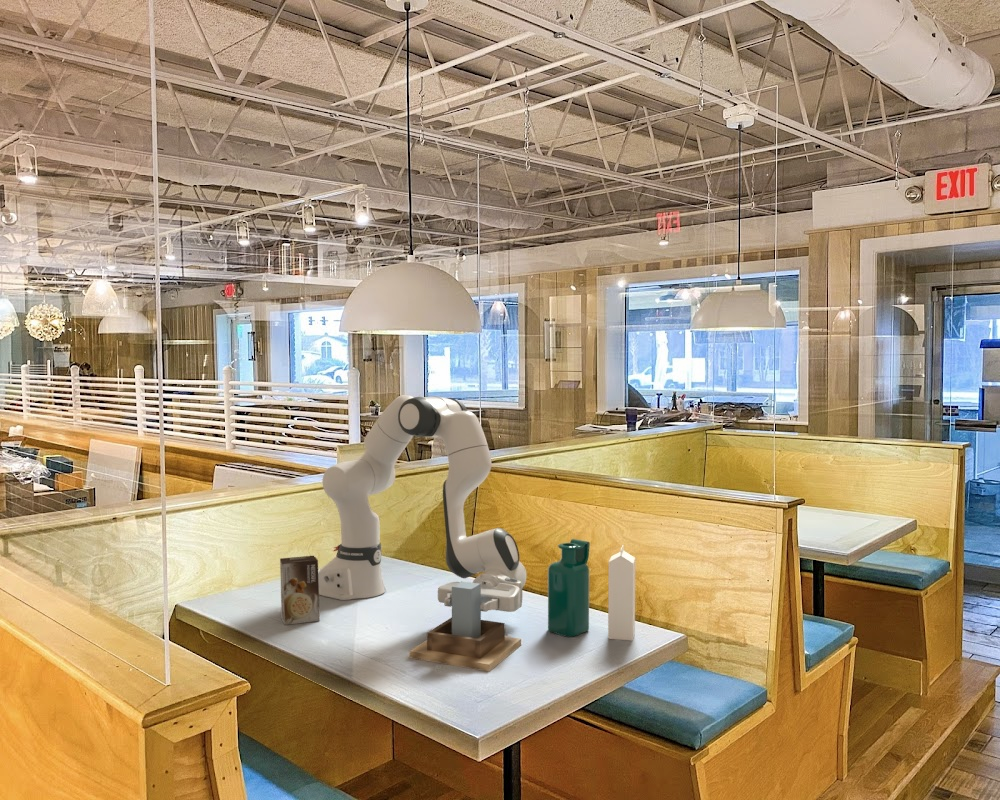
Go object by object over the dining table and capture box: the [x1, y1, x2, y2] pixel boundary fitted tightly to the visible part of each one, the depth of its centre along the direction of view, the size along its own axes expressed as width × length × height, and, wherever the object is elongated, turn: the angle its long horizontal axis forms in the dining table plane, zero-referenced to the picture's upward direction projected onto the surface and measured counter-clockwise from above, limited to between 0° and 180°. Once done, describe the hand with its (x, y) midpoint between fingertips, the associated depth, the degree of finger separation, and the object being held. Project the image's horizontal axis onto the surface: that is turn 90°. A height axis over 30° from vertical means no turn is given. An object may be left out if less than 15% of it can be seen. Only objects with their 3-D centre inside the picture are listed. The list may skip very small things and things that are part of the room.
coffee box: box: [279, 555, 321, 626], centre depth 210 cm, size 9×6×16 cm
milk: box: [607, 545, 636, 641], centre depth 197 cm, size 6×6×22 cm
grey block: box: [451, 581, 482, 638], centre depth 186 cm, size 5×5×14 cm
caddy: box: [408, 617, 522, 672], centre depth 187 cm, size 20×18×6 cm
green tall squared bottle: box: [547, 538, 590, 638], centre depth 201 cm, size 10×8×22 cm
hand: (464, 605), depth 186 cm, fingers open, 8 cm apart
